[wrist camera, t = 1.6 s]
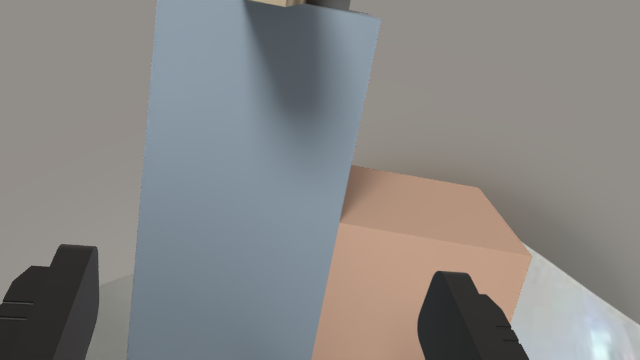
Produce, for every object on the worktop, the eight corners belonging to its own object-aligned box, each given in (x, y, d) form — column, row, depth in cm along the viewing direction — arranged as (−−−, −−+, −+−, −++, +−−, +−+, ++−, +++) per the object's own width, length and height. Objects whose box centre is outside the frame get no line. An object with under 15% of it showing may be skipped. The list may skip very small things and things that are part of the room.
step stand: (115, 484, 37) (159, -23, 27) (166, 370, 48) (209, -16, 39) (441, 534, 38) (596, 59, 28) (415, 410, 49) (519, 42, 39)
